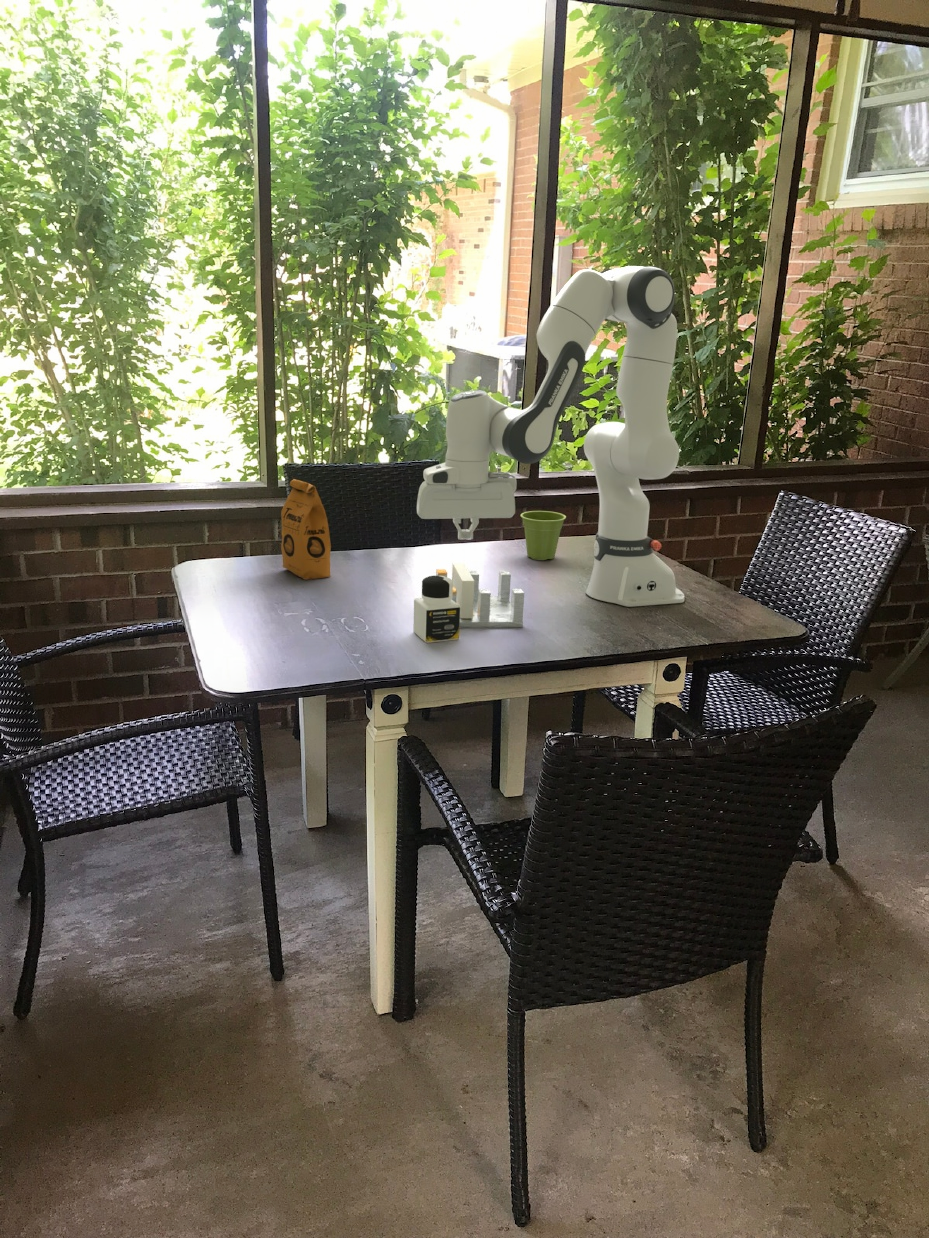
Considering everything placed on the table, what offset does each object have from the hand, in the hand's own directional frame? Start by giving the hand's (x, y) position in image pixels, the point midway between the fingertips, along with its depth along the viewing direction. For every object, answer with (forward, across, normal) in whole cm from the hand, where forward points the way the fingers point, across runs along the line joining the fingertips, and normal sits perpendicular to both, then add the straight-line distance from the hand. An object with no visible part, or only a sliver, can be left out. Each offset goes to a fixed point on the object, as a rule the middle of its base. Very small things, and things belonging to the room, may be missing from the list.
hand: (465, 538), depth 200 cm
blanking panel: (+15, 0, 0) cm, 15 cm away
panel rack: (+16, -3, 0) cm, 17 cm away
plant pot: (+18, -28, -48) cm, 58 cm away
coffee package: (+16, +33, -33) cm, 49 cm away
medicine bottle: (+16, +8, +14) cm, 23 cm away
